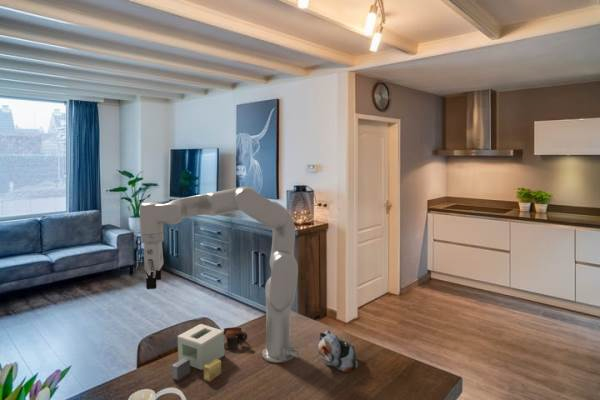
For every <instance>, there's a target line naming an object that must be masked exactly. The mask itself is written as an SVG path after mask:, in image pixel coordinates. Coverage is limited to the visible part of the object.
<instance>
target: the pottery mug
mask: <svg viewBox="0 0 600 400" xmlns="http://www.w3.org/2000/svg"><path fill="white" fill-rule="evenodd" d="M223 331H224V338H226V342H224V350H229V349H231V350H234V349H235V350H236V349H238V348H239V347H238V346H239V345H240V346H242V345H243V344H244V343H246V341H247V339H248V333H246V332H245V331H243V330H242V327H239V326H238V327H236V326H235V327H234V326H233V327H225V328H223Z"/></svg>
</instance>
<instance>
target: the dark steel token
mask: <svg viewBox="0 0 600 400" xmlns="http://www.w3.org/2000/svg"><path fill="white" fill-rule="evenodd" d="M190 373H191V366H190V359H188V358H183V359H181V360H180V361H177V362H175V363H173V364H171V377H172V380H175V381H179V380H181V379H182V378H183V377H185V376H188V374H190Z"/></svg>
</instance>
